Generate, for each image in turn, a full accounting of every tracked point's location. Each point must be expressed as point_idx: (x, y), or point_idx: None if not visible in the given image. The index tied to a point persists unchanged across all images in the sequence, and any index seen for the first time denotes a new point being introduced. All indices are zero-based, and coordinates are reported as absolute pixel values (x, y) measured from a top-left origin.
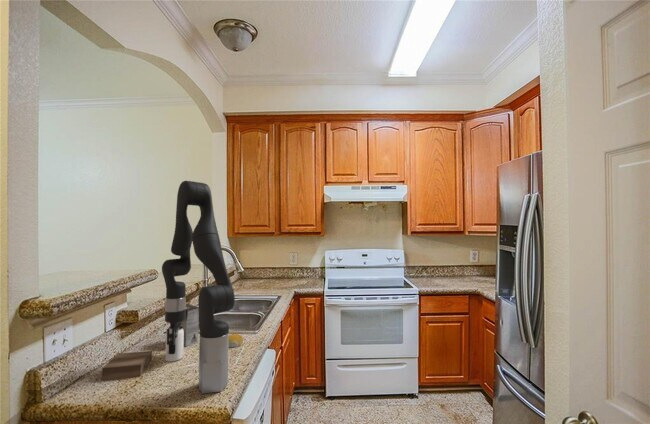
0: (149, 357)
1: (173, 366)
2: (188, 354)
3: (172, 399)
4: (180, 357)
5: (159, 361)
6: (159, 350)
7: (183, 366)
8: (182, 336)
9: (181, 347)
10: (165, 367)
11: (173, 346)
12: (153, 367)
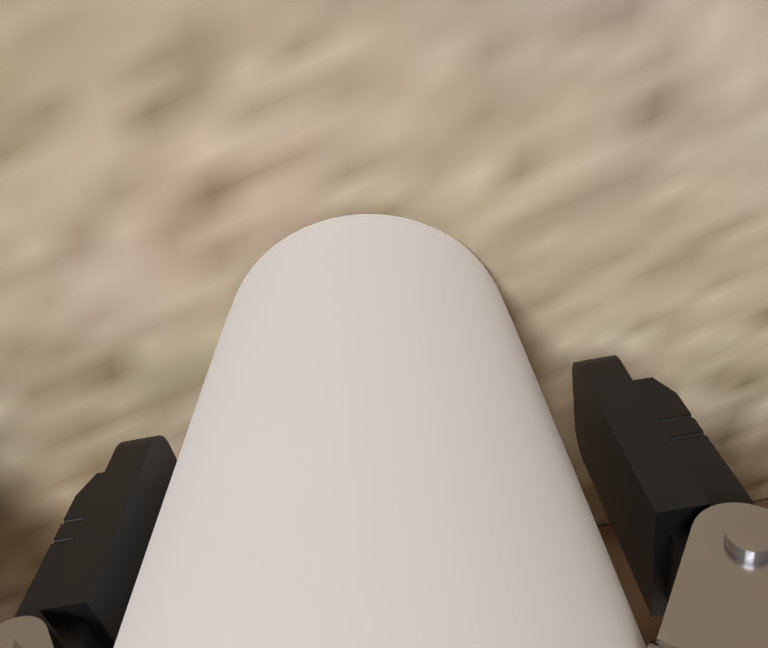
0: None
1: (679, 221)
2: (177, 171)
3: None
4: (433, 234)
5: None
6: None
7: (729, 33)
8: (434, 551)
9: (435, 326)
10: (684, 323)
11: (724, 482)
12: None
